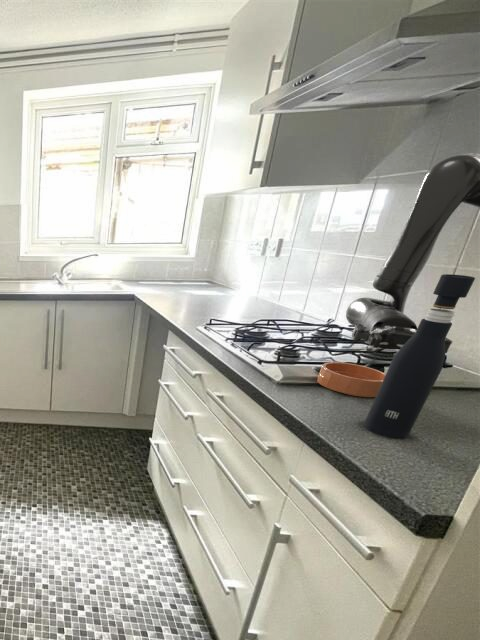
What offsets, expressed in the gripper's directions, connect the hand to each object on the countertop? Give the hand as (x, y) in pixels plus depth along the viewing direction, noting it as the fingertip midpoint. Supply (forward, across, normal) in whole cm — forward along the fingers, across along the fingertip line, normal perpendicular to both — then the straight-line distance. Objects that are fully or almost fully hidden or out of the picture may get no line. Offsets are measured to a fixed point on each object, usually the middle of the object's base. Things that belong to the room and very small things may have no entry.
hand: (406, 347), depth 81 cm
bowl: (-15, -3, +15) cm, 22 cm away
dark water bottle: (+8, 0, +15) cm, 17 cm away
